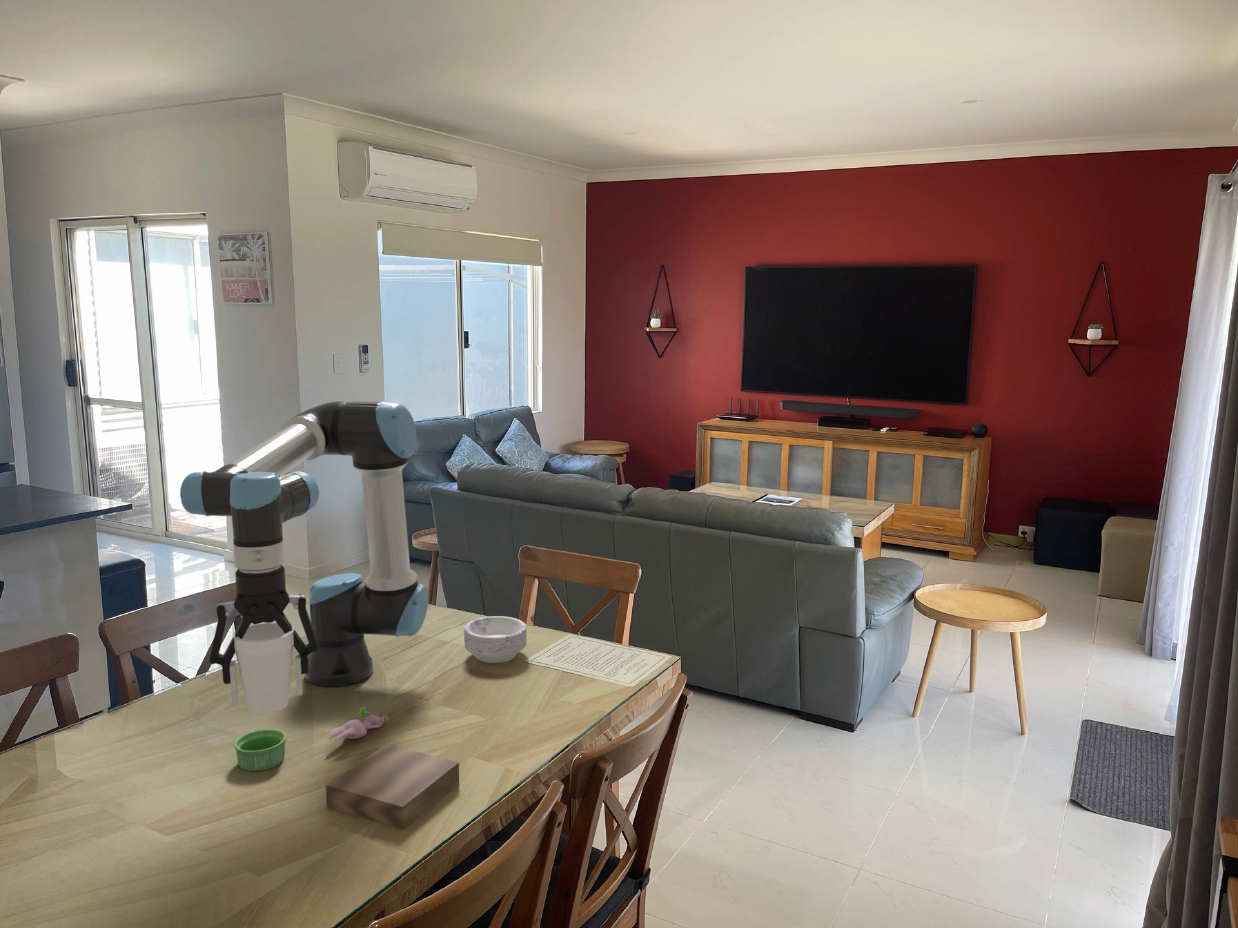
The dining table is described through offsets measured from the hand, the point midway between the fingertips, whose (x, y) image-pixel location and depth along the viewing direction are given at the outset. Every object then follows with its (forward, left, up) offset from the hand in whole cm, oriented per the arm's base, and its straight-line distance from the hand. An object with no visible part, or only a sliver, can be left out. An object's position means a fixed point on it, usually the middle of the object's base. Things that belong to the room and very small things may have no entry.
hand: (267, 696), depth 148 cm
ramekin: (-13, +10, -20) cm, 26 cm away
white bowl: (-1, +73, -20) cm, 76 cm away
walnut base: (+17, +11, -19) cm, 28 cm away
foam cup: (0, 0, -2) cm, 2 cm away
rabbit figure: (-3, +25, -20) cm, 32 cm away
